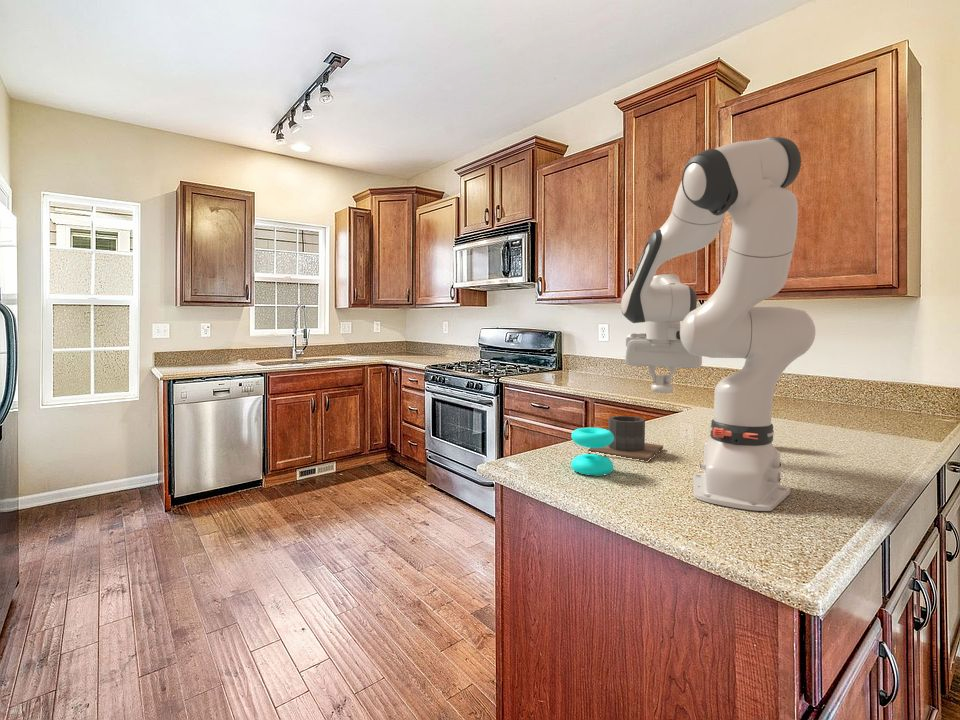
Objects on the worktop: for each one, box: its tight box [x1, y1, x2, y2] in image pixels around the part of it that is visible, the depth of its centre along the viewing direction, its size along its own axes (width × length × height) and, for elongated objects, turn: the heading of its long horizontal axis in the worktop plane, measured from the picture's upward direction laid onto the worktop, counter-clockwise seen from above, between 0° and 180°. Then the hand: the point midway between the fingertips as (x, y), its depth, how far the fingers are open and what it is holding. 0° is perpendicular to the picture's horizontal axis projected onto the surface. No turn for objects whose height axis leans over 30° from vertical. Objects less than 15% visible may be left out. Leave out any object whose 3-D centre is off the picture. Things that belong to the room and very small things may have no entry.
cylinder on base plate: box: [587, 415, 664, 462], centre depth 138 cm, size 16×16×9 cm
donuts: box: [570, 426, 614, 476], centre depth 120 cm, size 10×10×10 cm
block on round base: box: [650, 373, 674, 394], centre depth 139 cm, size 6×6×5 cm
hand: (661, 383), depth 139 cm, fingers closed on block on round base
